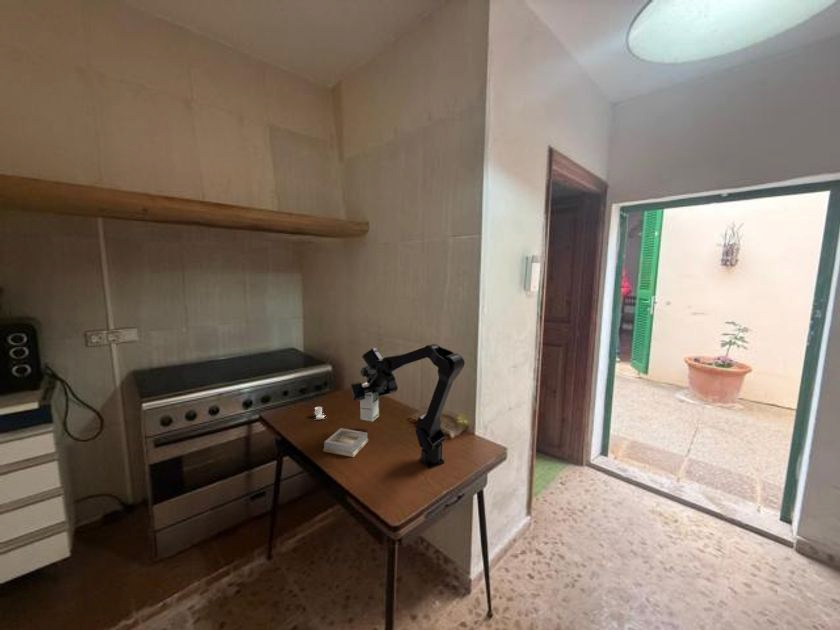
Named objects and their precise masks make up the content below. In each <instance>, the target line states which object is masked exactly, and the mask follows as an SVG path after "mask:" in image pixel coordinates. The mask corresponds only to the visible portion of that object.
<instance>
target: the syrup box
mask: <svg viewBox="0 0 840 630" xmlns="http://www.w3.org/2000/svg"><path fill="white" fill-rule="evenodd" d="M361 384H362V383H361ZM362 387H368V383H367V381H366V382H364V383H363V384H362ZM364 392H365V391H364ZM359 402H360V403H359V404H360V405H359V406H360V420H363V421H368V422H374V421H375V420H376V419H377V418H378V417H380V397H379V393H375V394H372V392H371V393H366V394H365V399H363V400H361V401H359Z"/></svg>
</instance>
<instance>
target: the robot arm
mask: <svg viewBox="0 0 840 630" xmlns="http://www.w3.org/2000/svg"><path fill="white" fill-rule="evenodd" d="M427 358H428V359H429V360H430V361H431V363H432V364H433V365H434V366H436V367H437V375H438V381H437V383H436V385H435V389H434V392H433V395H432V397H431V400H430V403H429V406H428V409H427V411H426V412H425V413H424V414H422V415H420V416H419V417H418V418H417V421H416V425H415V426H414V428H415V434H416V437H417V441H418V445H419V447H420V448H421V451H420V457H419V460H420V461H421V462H422V463H423V464H424V465H426V466H427V468H429V469H431V468H434V467H437V466H439V465H441V464H445V460H444V459H443V443H444V442H445V440H446V438H447V435H446V434H445V432H444V431H443V429H442V428H441V425H442V422H441V415H442V413H443V410H444V407H445V405H446V402H447V399H448V396H449V394H450V390H451V388H452V386H453V383H454V381H455V380H456V379H457V377H458V376H459V374H460V373H461V371H462V370H463V369H464V367H465V365H466V364H465V359H464V357H463V356H462V355H461V354H459V353H457V352H454V351H452V350H450V349H447V348H444V347H442V346H440V345H438V344H436V343H431V344H426V345H425V346H424V347H421V348H418V349H416V350H412V351H410V352H407V353H398V354H392V355H388V356H386V357H382V355H381V353H380V352H379V351H378V349H377V347H372V348H371V349H370V350H368V351H367V352H365V353H363V354H362V359H363V360H362V361H364V363H365V364H366V366H365V367H362V368H361V369H360V375H361V376H362V378H363V377H366V382H367V383H368V387H362V382H353V383H351V384H350V386H349V390H350V393H351V396H352V399H353V400H354V401H359V402H360V401H361V400H363V399H365V394H366V393H371V392H372V394H375V393H379V398H380V397H383V396H387V395H390V394H393V393H394V394H395V393H397V391H398V388H399V386H398V383H397V381H396V377H395V376H394V375H395V374H394V372H396V371H399V370H402V369H403V368H405V367H407V365H408V364H411V363H415V362H417V361H421V360H425V359H427ZM364 391H365V392H364Z"/></svg>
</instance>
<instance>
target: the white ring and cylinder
mask: <svg viewBox="0 0 840 630" xmlns="http://www.w3.org/2000/svg"><path fill="white" fill-rule="evenodd" d="M322 412H323V406H316V407H314V413H315V414H314V415H315V418H316V419H315V420H323V419H325V418H324V417H325V416H326V415H325V414H323V413H322Z"/></svg>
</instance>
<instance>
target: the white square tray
mask: <svg viewBox="0 0 840 630" xmlns="http://www.w3.org/2000/svg"><path fill="white" fill-rule="evenodd" d="M368 442H369V438H368V432H365V431H360V430H354V429H349V428H343V427H342V428H341V427H340V428H339V429H338V430H336V431H335V432H334V433H333V434H332V435H330V436H329V437H328V438H327V439H326V440H324V443H323V445H324V448H323V450H322V451H323V452H326V453H331V454H335V455H340V456H345V457H353V458H354V457H355V456H356V455H357V454H358V453H359V452H360V451H361V450H362V448H364V446H365V445H366V444H367V443H368Z"/></svg>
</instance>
